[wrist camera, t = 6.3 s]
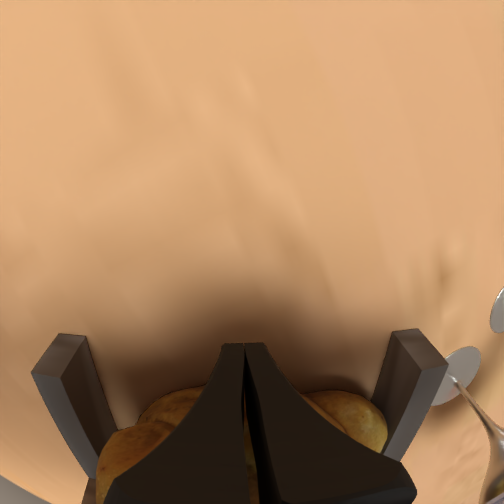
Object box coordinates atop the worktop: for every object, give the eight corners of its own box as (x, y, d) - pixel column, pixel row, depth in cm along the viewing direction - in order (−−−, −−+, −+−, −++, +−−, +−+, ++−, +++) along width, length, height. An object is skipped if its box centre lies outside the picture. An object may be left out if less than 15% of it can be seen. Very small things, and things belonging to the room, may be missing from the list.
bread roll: (387, 347, 14) (471, 475, 6) (348, 460, 17) (381, 558, 9) (111, 355, 13) (51, 504, 5) (150, 468, 16) (136, 573, 9)
